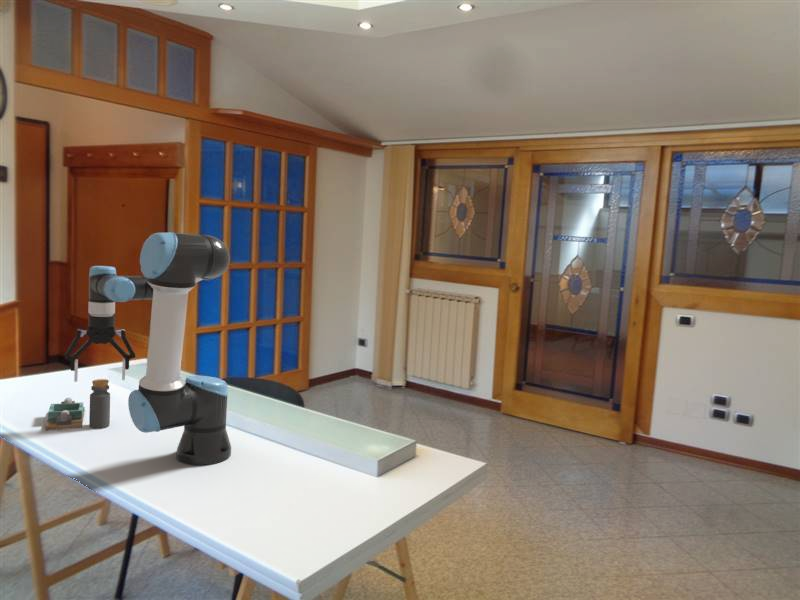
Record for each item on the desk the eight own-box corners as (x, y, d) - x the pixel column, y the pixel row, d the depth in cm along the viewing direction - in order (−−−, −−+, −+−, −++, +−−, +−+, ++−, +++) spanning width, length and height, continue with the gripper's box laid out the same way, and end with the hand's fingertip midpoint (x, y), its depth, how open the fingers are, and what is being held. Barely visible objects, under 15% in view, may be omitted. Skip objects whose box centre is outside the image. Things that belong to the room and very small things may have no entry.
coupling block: (81, 427, 186) (82, 413, 186) (45, 430, 182) (45, 415, 181) (84, 410, 203) (84, 396, 203) (51, 412, 199) (51, 398, 198)
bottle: (113, 424, 192) (114, 379, 190) (102, 429, 186) (103, 383, 184) (96, 422, 192) (97, 377, 191) (85, 427, 186) (86, 382, 185)
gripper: (144, 313, 194) (141, 375, 197) (57, 312, 183) (56, 378, 186) (145, 317, 188) (142, 381, 190) (55, 316, 177) (54, 384, 179)
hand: (100, 379), depth 188 cm, fingers open, 13 cm apart
